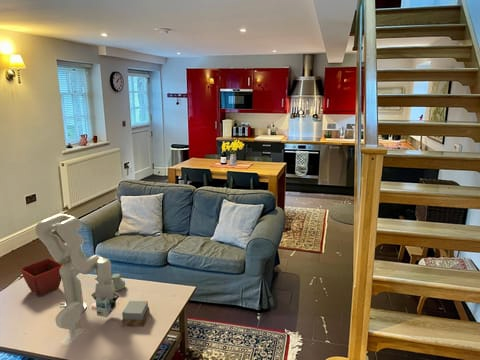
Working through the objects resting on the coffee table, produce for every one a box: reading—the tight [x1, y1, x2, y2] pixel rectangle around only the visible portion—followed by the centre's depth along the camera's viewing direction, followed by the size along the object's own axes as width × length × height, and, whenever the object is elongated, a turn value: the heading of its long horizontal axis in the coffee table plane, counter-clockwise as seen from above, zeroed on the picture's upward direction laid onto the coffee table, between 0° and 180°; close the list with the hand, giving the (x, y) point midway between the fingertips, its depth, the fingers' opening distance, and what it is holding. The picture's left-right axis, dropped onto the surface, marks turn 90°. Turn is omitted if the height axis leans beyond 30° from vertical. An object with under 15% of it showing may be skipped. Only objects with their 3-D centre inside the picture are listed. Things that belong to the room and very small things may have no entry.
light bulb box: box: [95, 296, 117, 318], centre depth 208 cm, size 11×7×11 cm, turn 170°
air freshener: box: [111, 273, 126, 292], centre depth 241 cm, size 11×8×10 cm
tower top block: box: [121, 300, 149, 320], centre depth 209 cm, size 11×12×4 cm
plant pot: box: [20, 257, 63, 297], centre depth 239 cm, size 19×19×17 cm
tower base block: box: [121, 306, 150, 328], centre depth 210 cm, size 12×13×4 cm
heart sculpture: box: [55, 302, 84, 346], centre depth 194 cm, size 16×5×18 cm, turn 163°
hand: (106, 306), depth 209 cm, fingers closed on light bulb box, 7 cm apart
